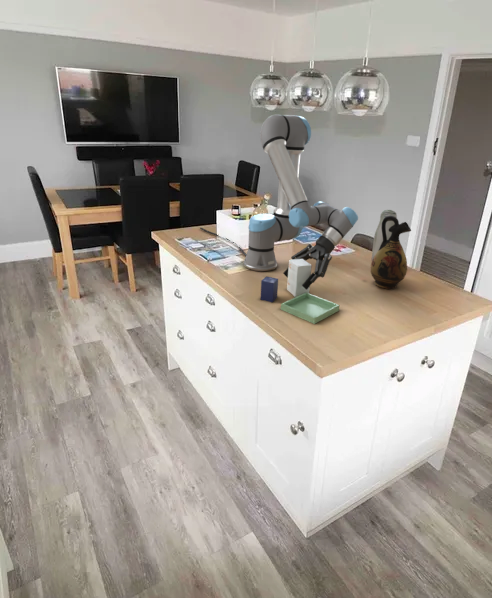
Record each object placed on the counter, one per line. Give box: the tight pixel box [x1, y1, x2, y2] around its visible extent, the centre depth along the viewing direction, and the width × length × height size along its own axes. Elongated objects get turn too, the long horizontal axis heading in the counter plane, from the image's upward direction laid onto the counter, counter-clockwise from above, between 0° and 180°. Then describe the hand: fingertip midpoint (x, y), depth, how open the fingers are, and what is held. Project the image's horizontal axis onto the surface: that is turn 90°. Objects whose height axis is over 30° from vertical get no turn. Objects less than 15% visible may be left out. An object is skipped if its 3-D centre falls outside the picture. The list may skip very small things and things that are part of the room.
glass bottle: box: [371, 209, 398, 261], centre depth 198 cm, size 10×10×28 cm
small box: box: [286, 259, 313, 298], centre depth 166 cm, size 8×6×13 cm
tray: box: [280, 292, 340, 325], centre depth 154 cm, size 16×16×2 cm
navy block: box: [260, 276, 279, 303], centre depth 160 cm, size 5×5×8 cm
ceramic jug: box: [369, 216, 412, 290], centre depth 177 cm, size 17×15×30 cm
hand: (294, 281), depth 165 cm, fingers open, 13 cm apart
